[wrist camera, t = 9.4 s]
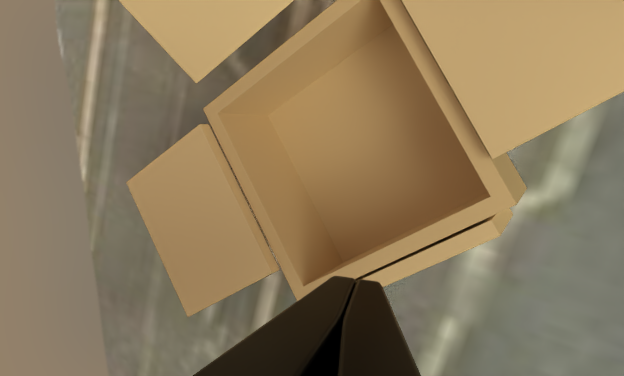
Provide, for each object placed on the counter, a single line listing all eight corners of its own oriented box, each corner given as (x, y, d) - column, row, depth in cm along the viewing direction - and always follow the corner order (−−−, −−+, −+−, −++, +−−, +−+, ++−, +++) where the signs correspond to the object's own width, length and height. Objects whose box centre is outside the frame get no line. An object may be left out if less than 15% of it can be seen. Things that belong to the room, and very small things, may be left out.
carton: (687, 134, 14) (732, 137, 11) (271, 323, 22) (209, 364, 19) (541, -95, 16) (533, -170, 12) (194, 162, 24) (120, 169, 20)
